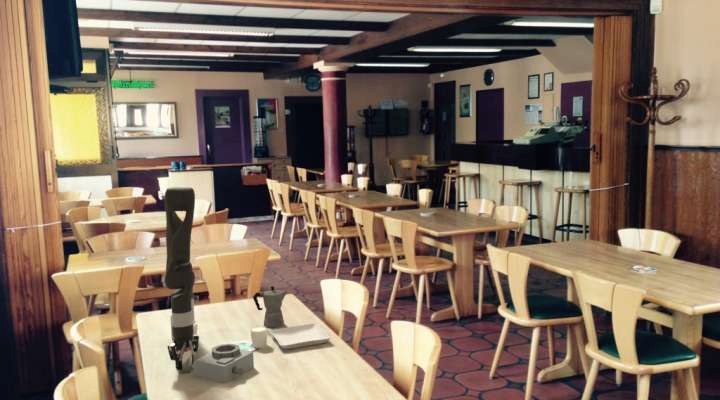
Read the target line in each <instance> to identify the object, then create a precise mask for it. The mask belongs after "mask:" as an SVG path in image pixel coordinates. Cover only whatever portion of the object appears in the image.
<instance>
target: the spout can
mask: <svg viewBox="0 0 720 400" xmlns="http://www.w3.org/2000/svg"><path fill="white" fill-rule="evenodd" d="M178 352H181V351H179V350H178ZM178 357H179V354H178ZM181 360H182V370H181V371H179V370H177V373H178V374H181V375H182V374H183V375H186V374H190V373H191V372H193V365H192V351H191V349H189V347H186V348H185V351H184V354H183V355H182V359H181Z"/></svg>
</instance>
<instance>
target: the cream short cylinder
mask: <svg viewBox="0 0 720 400" xmlns="http://www.w3.org/2000/svg"><path fill="white" fill-rule="evenodd" d="M249 331H250V336H251V343H252V344H251V345H252V347H253V348H254V347H256V348H255V349H262V348H265V347H267V345H268V343H267V342H268V341H267V340H268V328H267V327H265V326H256V327H252V328H250V330H249Z"/></svg>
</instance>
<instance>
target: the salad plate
mask: <svg viewBox="0 0 720 400" xmlns="http://www.w3.org/2000/svg"><path fill="white" fill-rule="evenodd" d="M269 334H270V335H271V336H272V337H274V339H275V340H276V341H277V343H278V344H279V346H280V347H281V348H282V349H288V350H291V349H297V348H302V347H304V348H305V347H308V346H309V347H310V346H314V345H320V344H324V343H326V342H328V341H329V340H330V339H331V336H330V335H328V334H327V333H326V332H325V331H324V330H323V329H322V327H320V326H319V324H317V323H307V324H302V325H301V324H300V325H295V326H289V327H288V326H287V327H283V328H282V327H281V328H277V329H276V328H274V329H271V330H269Z"/></svg>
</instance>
